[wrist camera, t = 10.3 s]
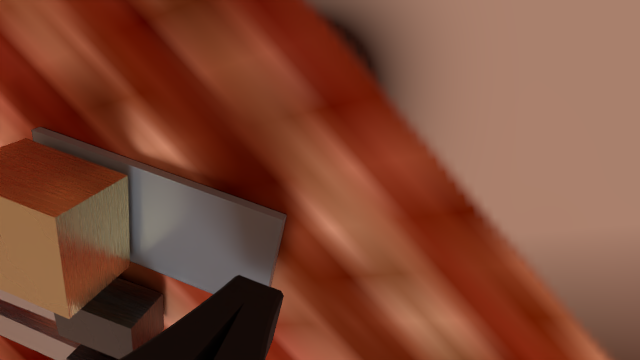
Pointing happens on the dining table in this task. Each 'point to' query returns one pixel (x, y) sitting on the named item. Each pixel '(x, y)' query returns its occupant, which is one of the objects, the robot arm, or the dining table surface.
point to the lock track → (187, 222)
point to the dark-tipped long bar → (42, 335)
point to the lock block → (60, 226)
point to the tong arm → (108, 318)
